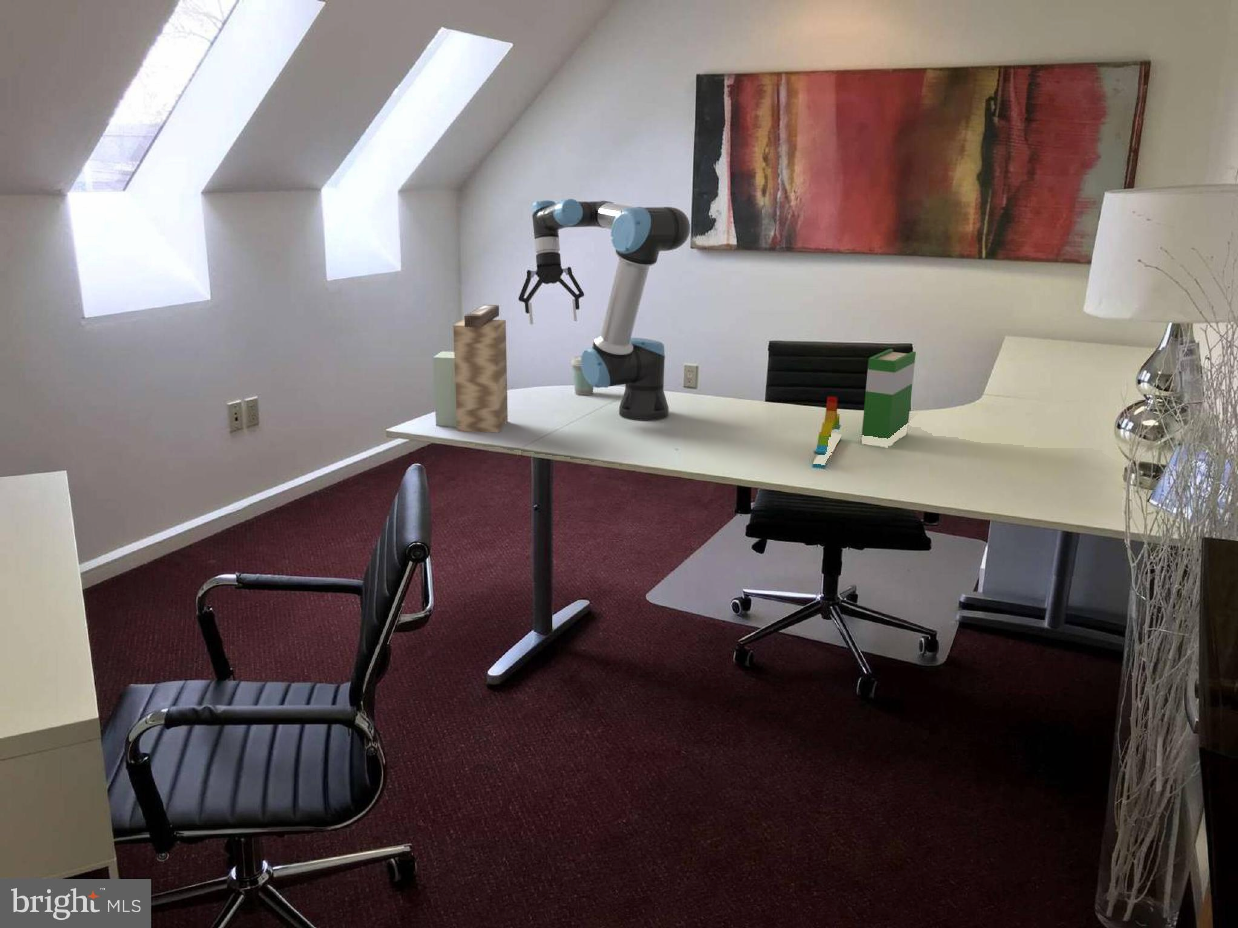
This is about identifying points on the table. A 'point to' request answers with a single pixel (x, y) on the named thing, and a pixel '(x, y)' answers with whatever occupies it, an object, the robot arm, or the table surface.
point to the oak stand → (481, 376)
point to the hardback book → (888, 393)
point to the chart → (827, 429)
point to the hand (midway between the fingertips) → (553, 322)
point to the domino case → (481, 316)
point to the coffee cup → (580, 379)
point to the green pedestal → (445, 389)
